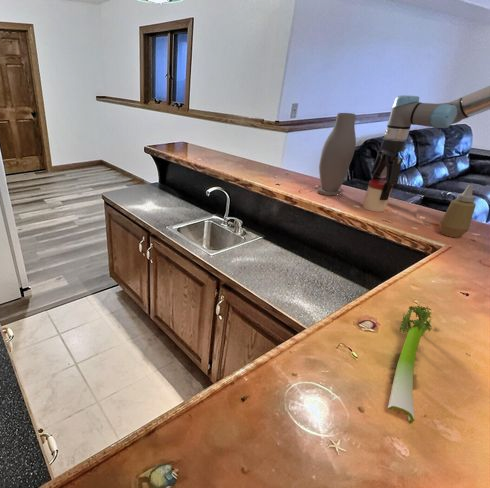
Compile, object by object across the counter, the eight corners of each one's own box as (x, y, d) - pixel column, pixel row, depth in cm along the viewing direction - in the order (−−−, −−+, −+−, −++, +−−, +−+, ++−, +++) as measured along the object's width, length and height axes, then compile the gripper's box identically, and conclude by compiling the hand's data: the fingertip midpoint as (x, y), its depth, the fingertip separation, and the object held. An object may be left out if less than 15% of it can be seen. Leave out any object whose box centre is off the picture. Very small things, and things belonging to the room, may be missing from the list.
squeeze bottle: (435, 228, 127) (454, 180, 119) (463, 233, 124) (484, 183, 116) (437, 236, 121) (457, 186, 113) (466, 241, 118) (489, 190, 109)
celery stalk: (371, 413, 60) (395, 314, 80) (417, 439, 57) (430, 329, 77) (387, 392, 56) (408, 295, 77) (437, 419, 53) (445, 310, 74)
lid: (364, 183, 145) (365, 179, 144) (384, 183, 145) (386, 179, 144) (375, 189, 138) (376, 185, 137) (396, 189, 137) (398, 185, 137)
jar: (386, 207, 147) (393, 182, 142) (384, 213, 140) (392, 188, 136) (363, 203, 151) (370, 179, 146) (361, 209, 144) (368, 184, 140)
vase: (329, 187, 170) (346, 111, 155) (350, 195, 160) (372, 114, 144) (307, 190, 166) (323, 112, 150) (328, 199, 155) (347, 115, 140)
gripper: (371, 134, 143) (356, 188, 153) (400, 144, 124) (381, 204, 134) (389, 134, 142) (374, 188, 152) (422, 145, 123) (401, 205, 134)
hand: (377, 196), depth 143 cm, fingers closed on lid, 8 cm apart
